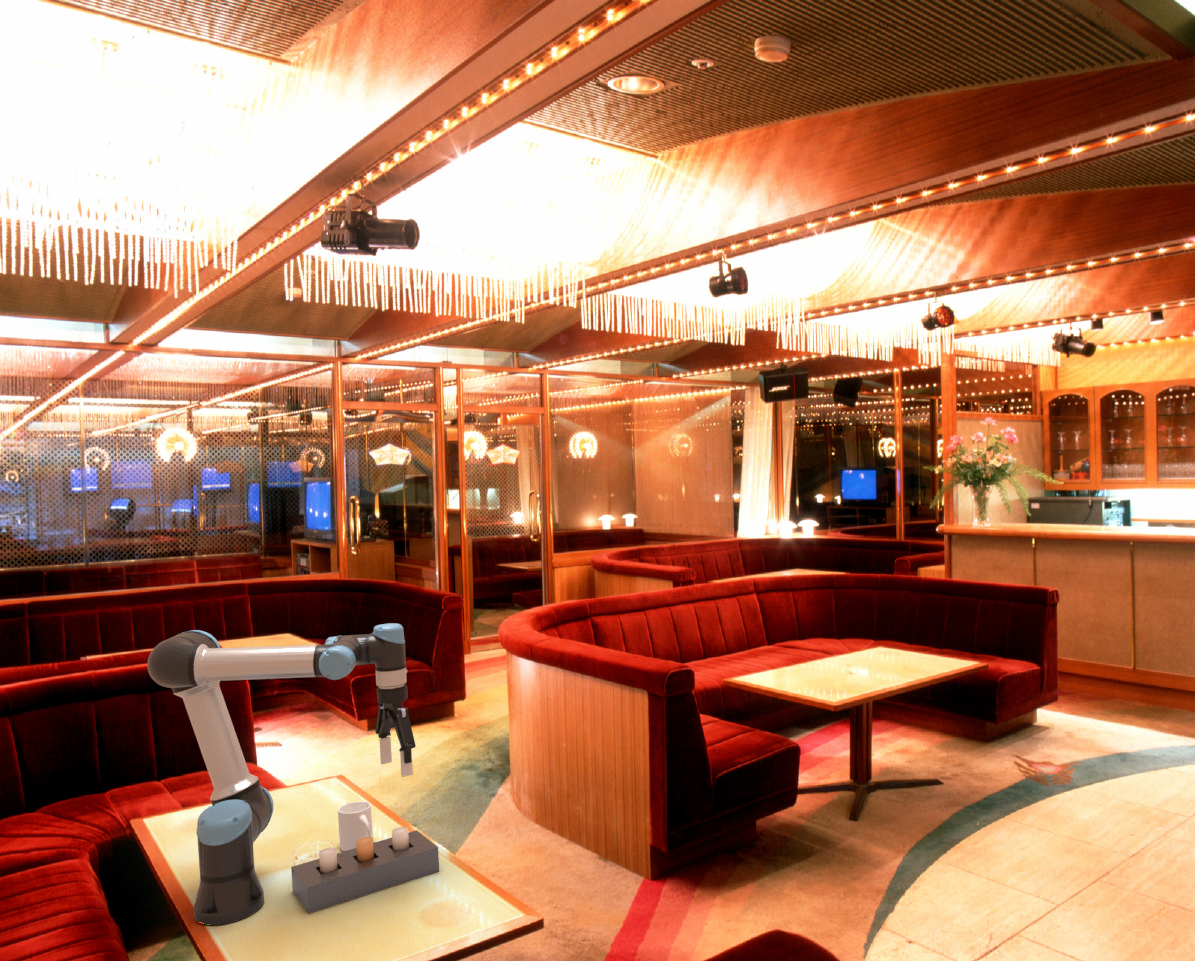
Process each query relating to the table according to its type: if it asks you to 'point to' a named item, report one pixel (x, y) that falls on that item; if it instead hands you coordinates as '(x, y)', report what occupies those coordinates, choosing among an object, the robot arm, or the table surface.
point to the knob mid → (365, 849)
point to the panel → (363, 873)
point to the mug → (354, 823)
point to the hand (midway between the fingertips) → (396, 769)
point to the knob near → (328, 860)
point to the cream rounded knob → (400, 839)
